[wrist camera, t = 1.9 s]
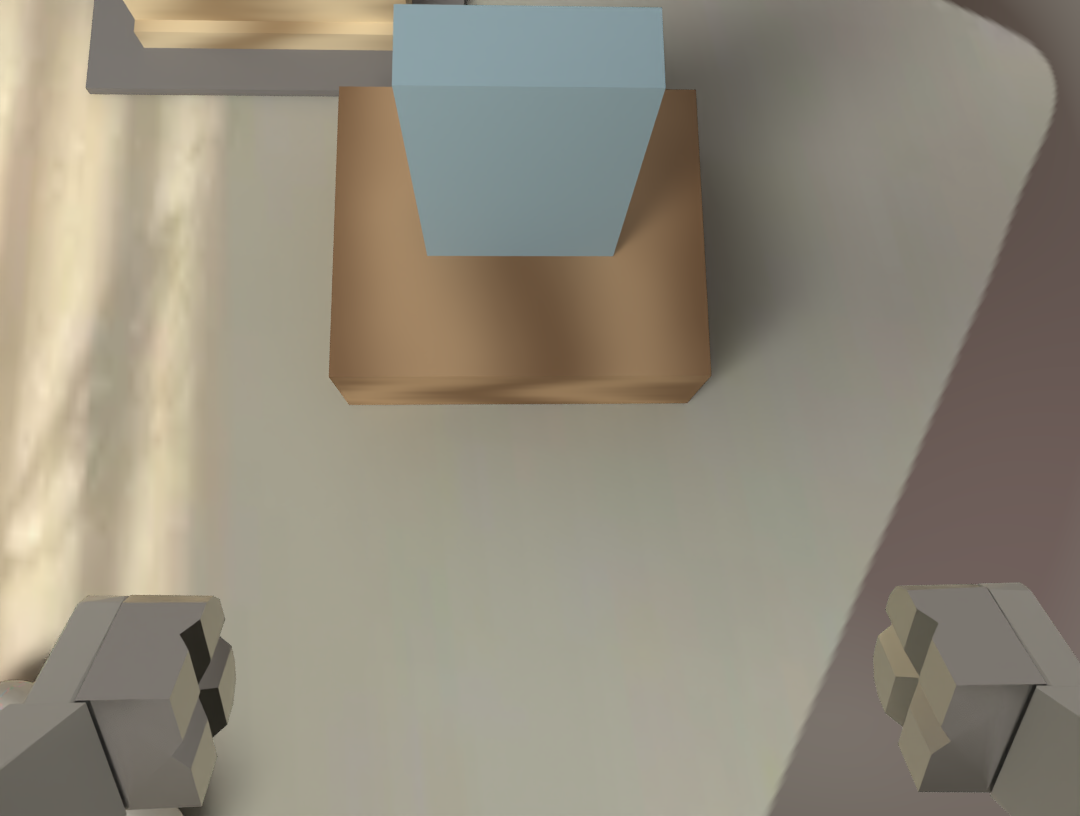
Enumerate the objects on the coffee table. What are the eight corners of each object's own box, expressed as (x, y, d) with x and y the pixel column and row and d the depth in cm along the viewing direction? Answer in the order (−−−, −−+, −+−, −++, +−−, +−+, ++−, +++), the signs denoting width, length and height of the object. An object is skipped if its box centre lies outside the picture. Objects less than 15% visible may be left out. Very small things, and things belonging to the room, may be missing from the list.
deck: (349, 404, 33) (329, 376, 29) (357, 144, 35) (338, 86, 31) (686, 403, 34) (711, 375, 30) (674, 146, 36) (695, 89, 32)
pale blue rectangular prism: (427, 255, 30) (392, 85, 20) (427, 197, 31) (393, 4, 21) (613, 256, 30) (665, 87, 21) (611, 198, 31) (661, 7, 21)
